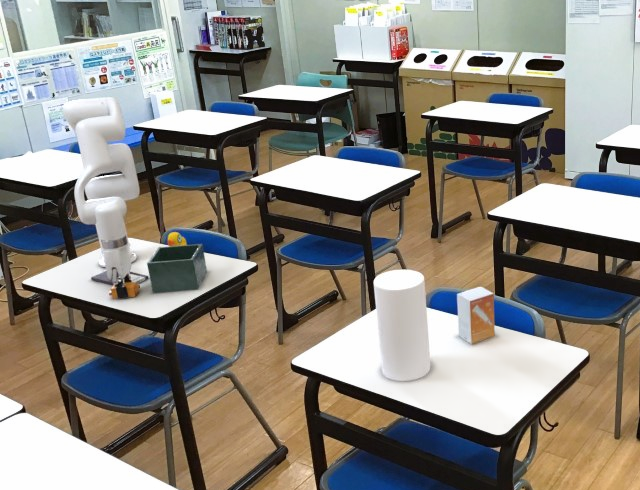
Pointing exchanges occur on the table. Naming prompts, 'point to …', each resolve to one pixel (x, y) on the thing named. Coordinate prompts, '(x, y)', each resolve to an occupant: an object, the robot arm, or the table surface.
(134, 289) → the packet
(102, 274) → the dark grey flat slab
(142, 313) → the table surface
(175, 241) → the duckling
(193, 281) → the bin
